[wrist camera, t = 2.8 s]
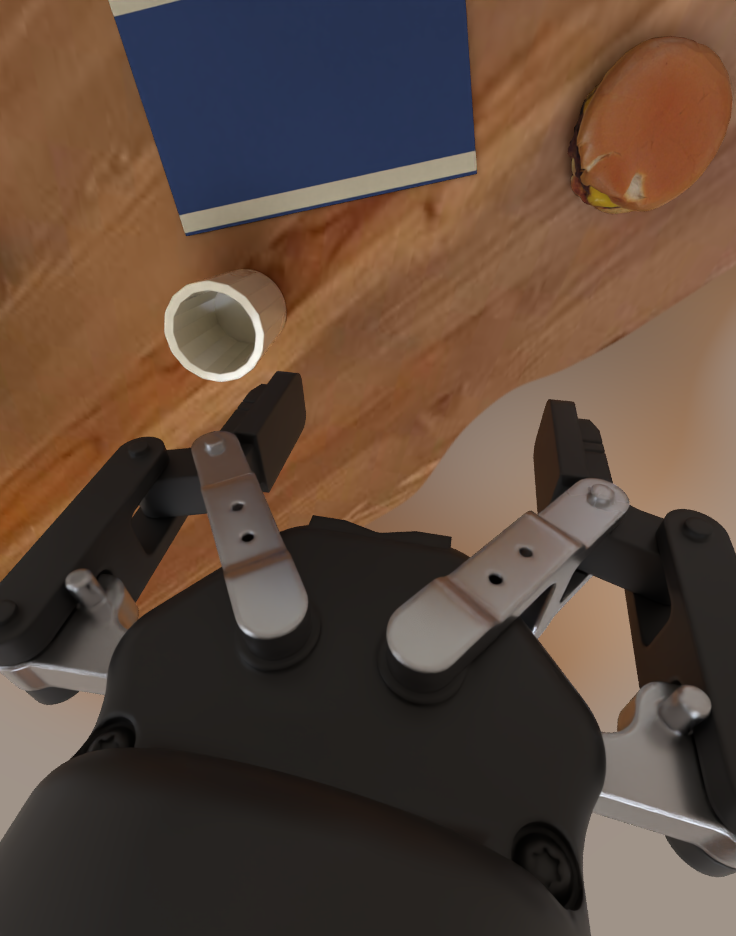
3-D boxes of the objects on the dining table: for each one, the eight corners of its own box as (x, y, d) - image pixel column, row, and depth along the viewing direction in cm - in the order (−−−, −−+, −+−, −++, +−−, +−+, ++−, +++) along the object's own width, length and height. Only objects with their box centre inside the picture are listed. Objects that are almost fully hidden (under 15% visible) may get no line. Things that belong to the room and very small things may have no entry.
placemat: (187, 236, 35) (185, 236, 35) (106, -11, 29) (103, -14, 28) (476, 173, 34) (477, 173, 33) (457, -102, 27) (458, -106, 27)
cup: (225, 353, 39) (185, 389, 30) (200, 277, 36) (148, 292, 28) (294, 339, 39) (275, 372, 30) (274, 261, 36) (246, 271, 27)
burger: (718, 46, 30) (774, 17, 26) (684, 207, 35) (727, 204, 31) (567, 60, 31) (598, 34, 27) (552, 219, 35) (577, 217, 31)
